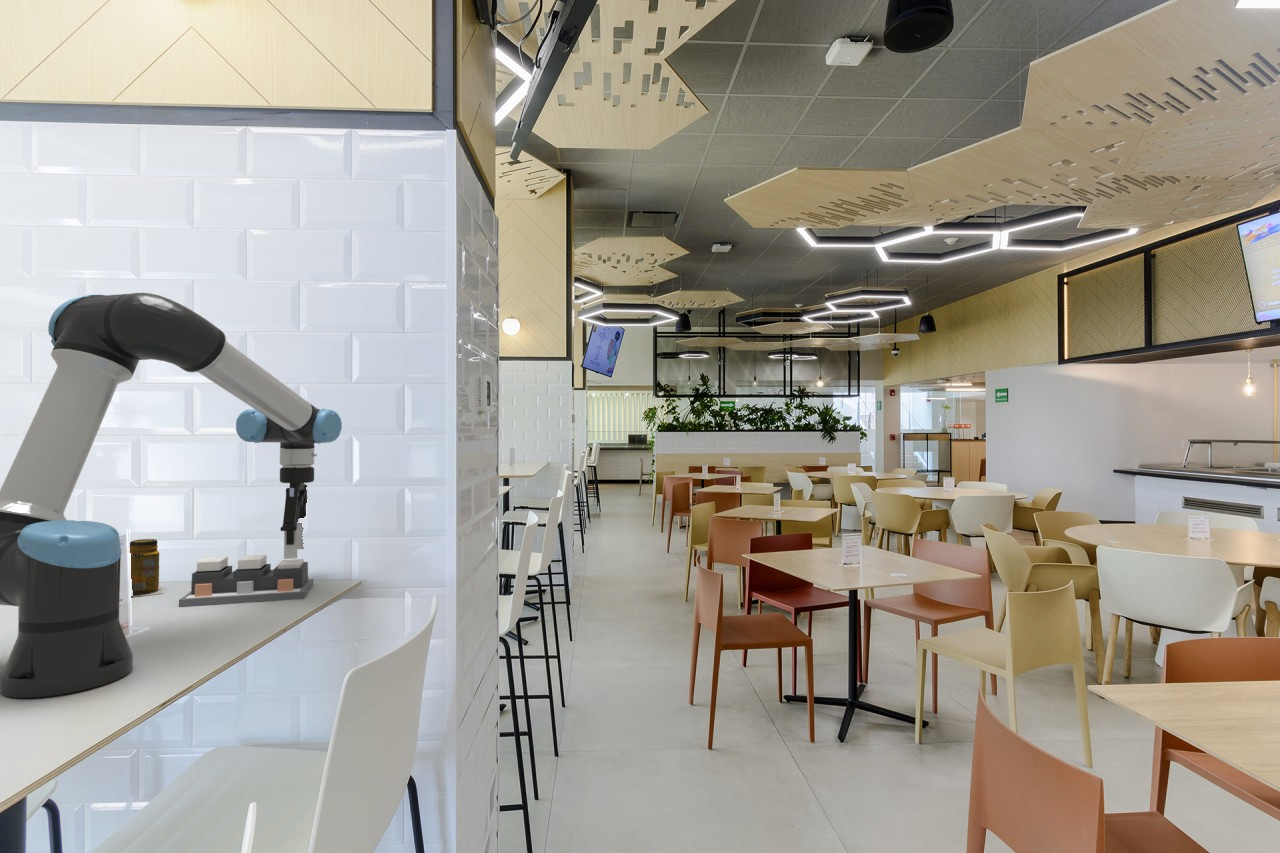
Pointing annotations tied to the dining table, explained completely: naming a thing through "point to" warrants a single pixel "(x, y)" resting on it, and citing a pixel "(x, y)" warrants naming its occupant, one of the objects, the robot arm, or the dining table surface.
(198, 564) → the button left
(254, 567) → the button mid
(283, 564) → the button right
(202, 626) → the dining table surface
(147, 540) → the condiment
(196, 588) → the switch unit
